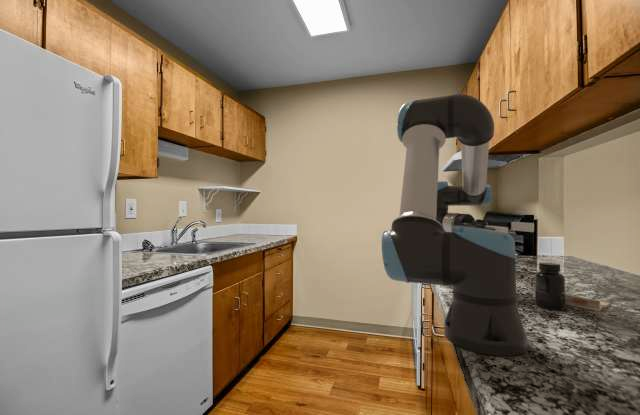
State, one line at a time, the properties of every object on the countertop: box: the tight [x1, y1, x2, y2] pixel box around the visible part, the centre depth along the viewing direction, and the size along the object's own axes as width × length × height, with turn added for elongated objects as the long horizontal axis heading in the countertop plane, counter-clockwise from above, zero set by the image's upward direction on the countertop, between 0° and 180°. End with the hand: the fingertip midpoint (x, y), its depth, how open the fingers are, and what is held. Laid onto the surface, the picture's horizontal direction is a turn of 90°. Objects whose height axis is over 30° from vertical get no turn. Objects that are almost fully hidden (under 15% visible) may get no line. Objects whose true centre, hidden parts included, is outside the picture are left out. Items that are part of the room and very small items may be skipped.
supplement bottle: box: [534, 262, 566, 311], centre depth 86 cm, size 7×7×12 cm
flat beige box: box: [565, 293, 612, 312], centre depth 89 cm, size 10×10×3 cm
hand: (520, 229), depth 92 cm, fingers open, 13 cm apart
